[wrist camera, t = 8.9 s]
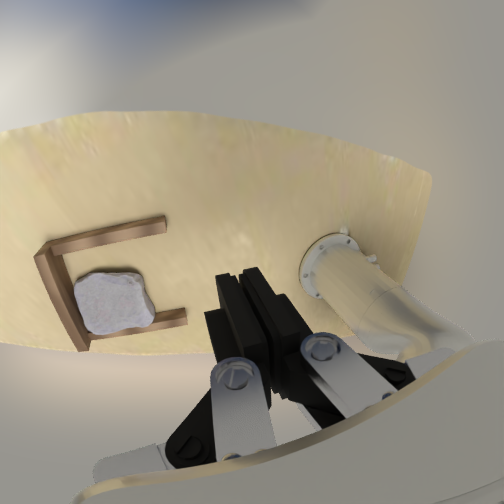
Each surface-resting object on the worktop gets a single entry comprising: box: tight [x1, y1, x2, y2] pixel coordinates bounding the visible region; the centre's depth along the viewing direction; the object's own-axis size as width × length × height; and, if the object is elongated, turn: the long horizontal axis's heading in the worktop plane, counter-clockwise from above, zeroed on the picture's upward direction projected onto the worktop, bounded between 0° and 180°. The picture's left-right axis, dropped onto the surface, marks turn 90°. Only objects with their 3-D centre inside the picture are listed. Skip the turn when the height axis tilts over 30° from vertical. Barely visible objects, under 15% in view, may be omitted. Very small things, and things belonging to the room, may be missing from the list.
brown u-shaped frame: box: [34, 216, 188, 352], centre depth 35 cm, size 19×17×5 cm
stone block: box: [74, 272, 155, 335], centre depth 37 cm, size 12×5×10 cm
